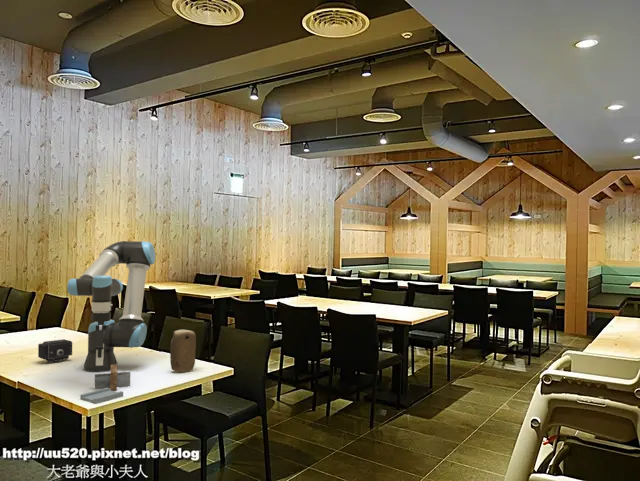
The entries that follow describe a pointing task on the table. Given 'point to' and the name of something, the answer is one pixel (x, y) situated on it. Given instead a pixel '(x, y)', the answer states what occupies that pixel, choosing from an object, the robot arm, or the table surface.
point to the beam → (113, 378)
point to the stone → (183, 350)
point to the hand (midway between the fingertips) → (99, 362)
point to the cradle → (100, 395)
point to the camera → (55, 350)
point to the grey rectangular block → (104, 380)
